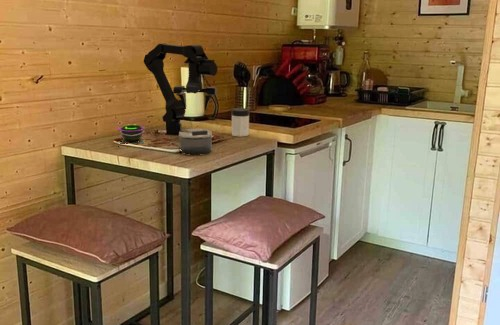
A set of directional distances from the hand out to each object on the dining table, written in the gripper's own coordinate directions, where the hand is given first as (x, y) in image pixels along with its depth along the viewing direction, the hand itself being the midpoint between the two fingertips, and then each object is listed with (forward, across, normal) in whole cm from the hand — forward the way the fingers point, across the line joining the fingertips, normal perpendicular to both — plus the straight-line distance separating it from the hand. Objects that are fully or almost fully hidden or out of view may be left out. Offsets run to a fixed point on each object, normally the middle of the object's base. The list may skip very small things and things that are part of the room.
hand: (195, 109), depth 224 cm
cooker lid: (+6, +5, -23) cm, 25 cm away
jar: (+13, +19, +10) cm, 25 cm away
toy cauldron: (+13, -24, -16) cm, 32 cm away
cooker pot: (+13, +5, -23) cm, 27 cm away
